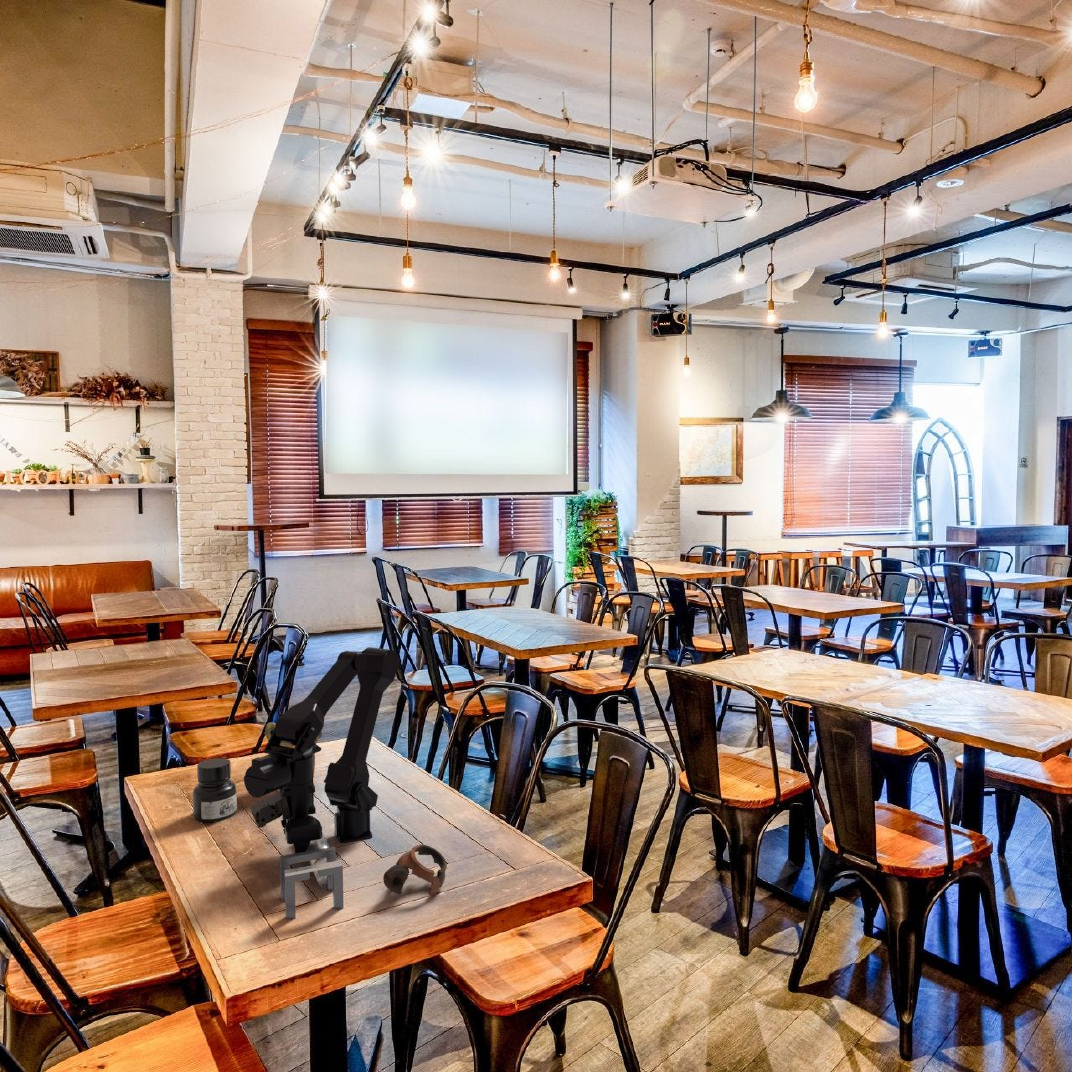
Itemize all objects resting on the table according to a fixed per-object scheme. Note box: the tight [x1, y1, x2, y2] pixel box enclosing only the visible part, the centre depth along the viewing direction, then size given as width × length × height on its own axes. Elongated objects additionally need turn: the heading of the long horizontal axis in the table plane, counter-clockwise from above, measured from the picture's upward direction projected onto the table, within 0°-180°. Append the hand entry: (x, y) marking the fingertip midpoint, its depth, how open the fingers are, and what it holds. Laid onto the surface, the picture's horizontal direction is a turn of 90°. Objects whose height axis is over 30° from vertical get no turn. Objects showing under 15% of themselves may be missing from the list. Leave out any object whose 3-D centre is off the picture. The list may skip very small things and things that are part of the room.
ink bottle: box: [192, 757, 238, 824], centre depth 178 cm, size 10×9×12 cm
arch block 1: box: [279, 846, 337, 902], centre depth 143 cm, size 9×1×8 cm, turn 114°
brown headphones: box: [383, 844, 448, 897], centre depth 143 cm, size 12×9×8 cm
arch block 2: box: [284, 859, 344, 921], centre depth 136 cm, size 9×1×8 cm, turn 114°
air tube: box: [306, 831, 338, 890], centre depth 155 cm, size 22×4×4 cm
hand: (299, 860), depth 154 cm, fingers closed
